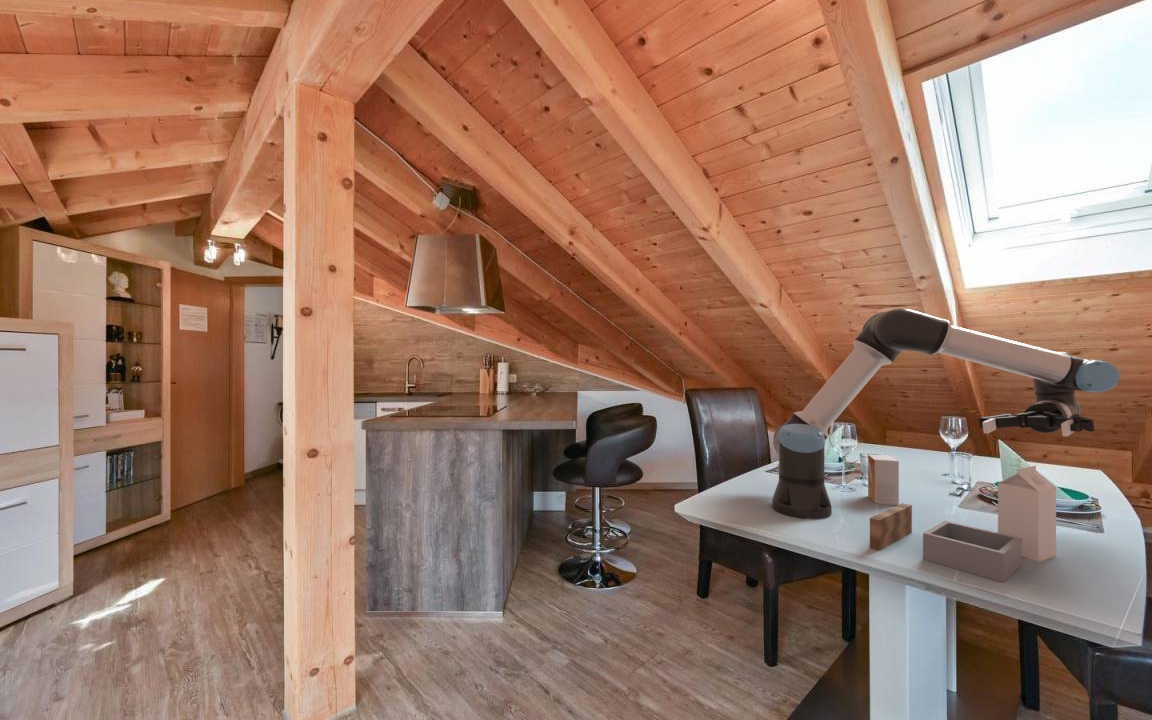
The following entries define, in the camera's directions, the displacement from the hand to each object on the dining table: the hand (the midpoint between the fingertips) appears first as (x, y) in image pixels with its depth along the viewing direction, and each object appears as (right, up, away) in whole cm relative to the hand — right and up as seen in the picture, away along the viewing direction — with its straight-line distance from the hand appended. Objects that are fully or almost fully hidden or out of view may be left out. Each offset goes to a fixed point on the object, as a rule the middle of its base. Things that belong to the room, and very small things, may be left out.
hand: (1022, 429), depth 109 cm
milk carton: (-4, -27, -5) cm, 28 cm away
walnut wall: (-29, -27, +2) cm, 39 cm away
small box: (-11, -27, +33) cm, 44 cm away
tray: (-20, -26, -10) cm, 35 cm away
